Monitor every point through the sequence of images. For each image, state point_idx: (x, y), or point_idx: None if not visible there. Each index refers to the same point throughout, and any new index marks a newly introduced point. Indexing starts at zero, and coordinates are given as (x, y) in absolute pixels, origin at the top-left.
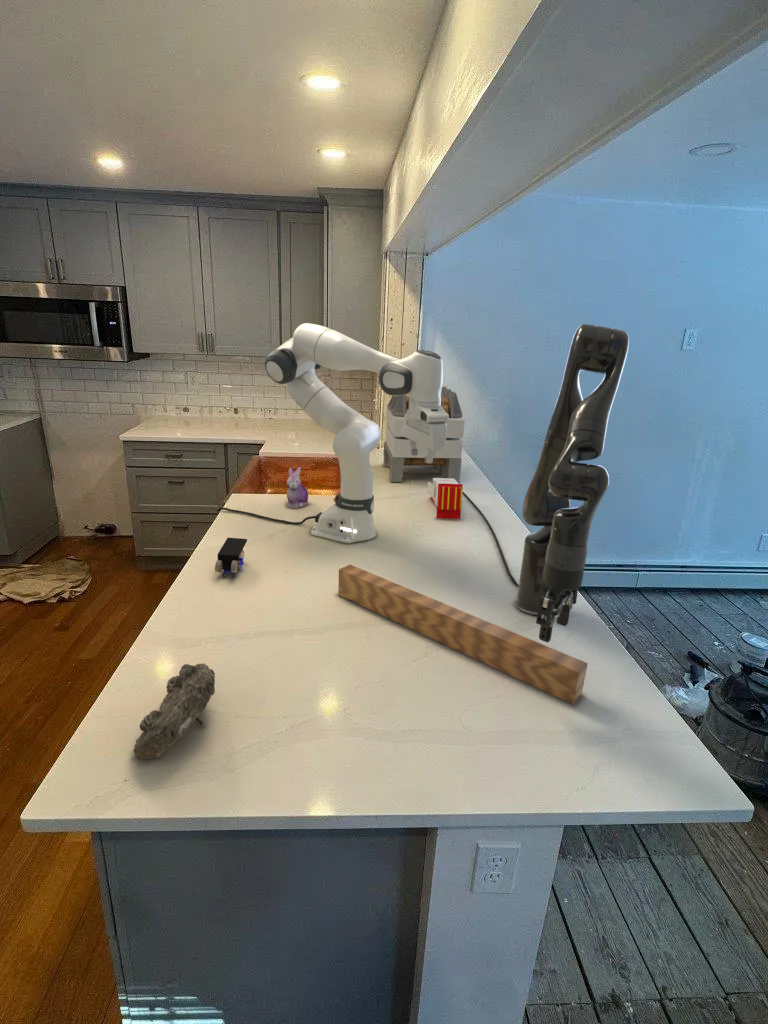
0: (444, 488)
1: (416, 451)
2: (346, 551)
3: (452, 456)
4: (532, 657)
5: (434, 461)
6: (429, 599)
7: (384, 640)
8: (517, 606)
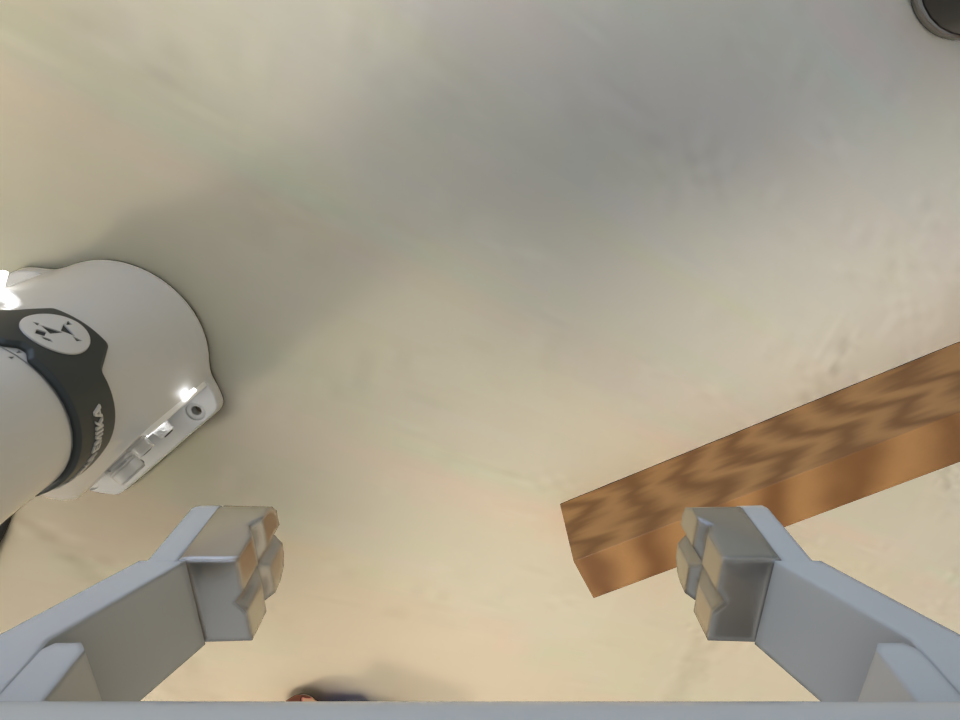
0: None
1: (255, 554)
2: (290, 427)
3: None
4: None
5: None
6: (917, 438)
7: (836, 512)
8: (949, 37)
